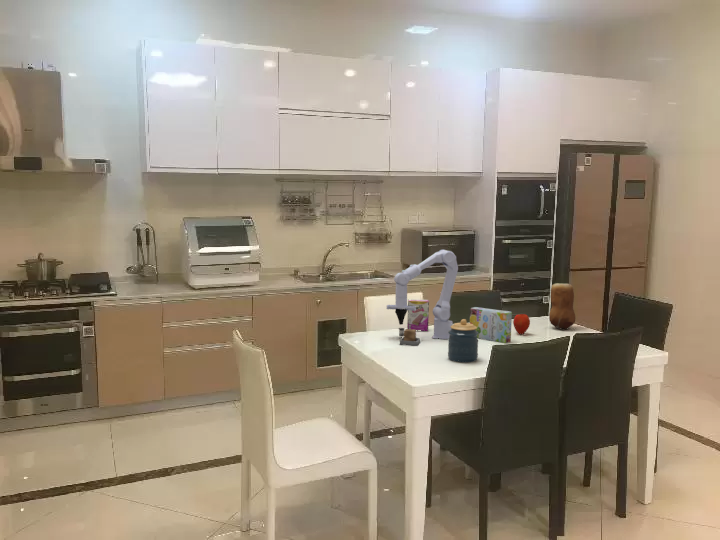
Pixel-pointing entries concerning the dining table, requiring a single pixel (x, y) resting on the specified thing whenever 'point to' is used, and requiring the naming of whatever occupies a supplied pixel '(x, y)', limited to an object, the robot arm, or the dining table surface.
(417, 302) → the candy bar box
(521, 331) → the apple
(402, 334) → the crank lever
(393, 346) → the dining table surface
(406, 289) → the robot arm
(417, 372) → the dining table surface
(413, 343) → the tray
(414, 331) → the block
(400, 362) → the dining table surface
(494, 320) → the snack box
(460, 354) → the canister
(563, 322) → the butternut squash
